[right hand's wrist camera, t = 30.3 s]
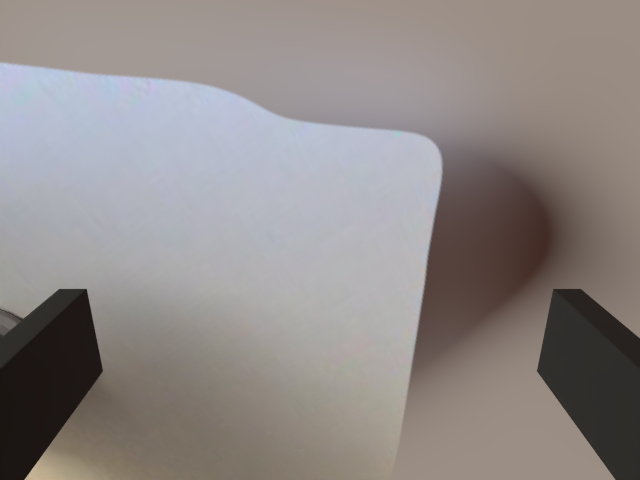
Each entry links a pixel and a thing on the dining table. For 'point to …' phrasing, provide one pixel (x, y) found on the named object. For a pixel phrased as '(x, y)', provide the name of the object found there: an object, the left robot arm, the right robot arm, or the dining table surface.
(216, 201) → the dining table surface
